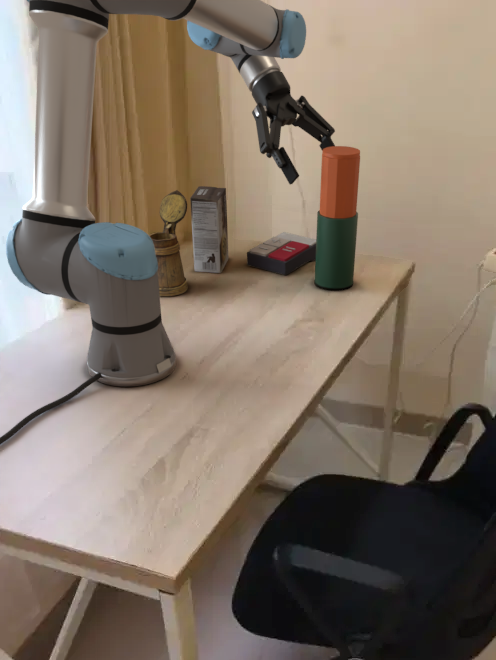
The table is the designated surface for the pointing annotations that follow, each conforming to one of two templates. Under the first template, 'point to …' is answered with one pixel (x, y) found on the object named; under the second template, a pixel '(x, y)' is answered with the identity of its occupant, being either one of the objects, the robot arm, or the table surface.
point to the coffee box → (209, 229)
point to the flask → (335, 252)
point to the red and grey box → (282, 253)
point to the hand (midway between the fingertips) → (317, 174)
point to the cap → (339, 181)
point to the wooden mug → (170, 246)
